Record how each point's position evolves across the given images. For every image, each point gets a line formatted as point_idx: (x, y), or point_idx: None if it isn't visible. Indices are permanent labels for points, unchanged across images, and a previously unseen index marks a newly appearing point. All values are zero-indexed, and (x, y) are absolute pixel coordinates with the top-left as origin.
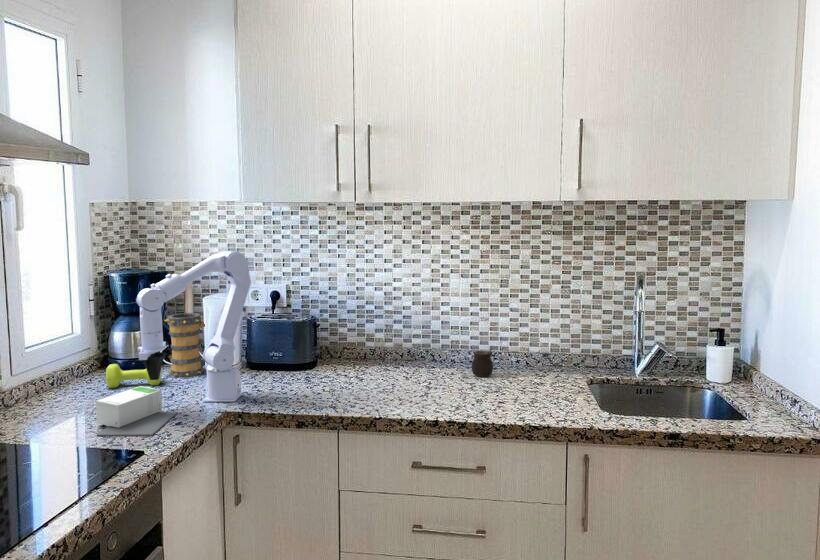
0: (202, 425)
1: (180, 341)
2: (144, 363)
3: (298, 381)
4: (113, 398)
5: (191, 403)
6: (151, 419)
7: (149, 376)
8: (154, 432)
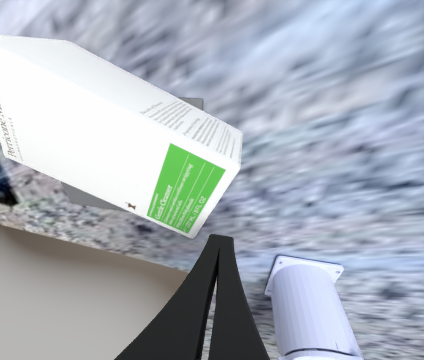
0: (140, 257)
1: None
2: (149, 326)
3: (371, 354)
4: (35, 114)
5: (276, 235)
6: None
7: (205, 247)
8: (83, 204)
